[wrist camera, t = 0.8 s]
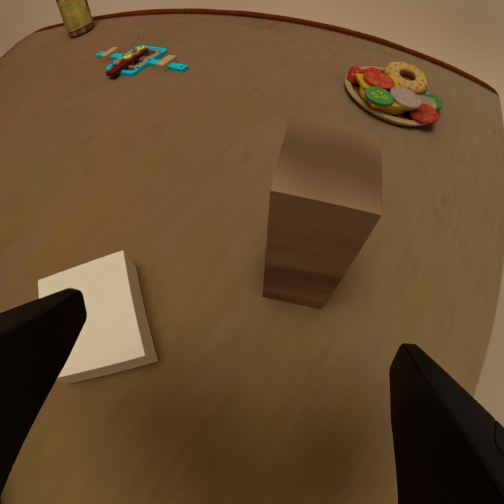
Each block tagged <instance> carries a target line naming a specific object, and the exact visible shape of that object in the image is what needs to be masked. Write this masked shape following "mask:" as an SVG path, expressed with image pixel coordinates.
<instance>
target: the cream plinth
mask: <svg viewBox="0 0 504 504" xmlns="http://www.w3.org/2000/svg"><path fill="white" fill-rule="evenodd" d="M67 288H73V289H77V290H80V291H81V292H82V294H83V297H84V302H85V307H86V311H87V319H86V322H85V324H84V326H83V328H82V330H81V332H80V334H79V336H78V339H77V341H76V343H75V345H74V347H73V349H72V352H71V354H70V356H69V358H68V360H67V362H66V364H65V365H64V367H63V369H62V371H61V372H60V374H59V376H58V378H57V380H56V381H59V382H64V383H69V384H70V383H74V382H79V381H83V380H88V379H92V378H96V377H100V376H104V375H109V374H113V373H117V372H121V371H124V370H128V369H132V368H136V367H140V366H143V365H147V364H151V363H154V362H158V359H157V355H156V352H155V348H154V344H153V340H152V336H151V332H150V328H149V324H148V320H147V316H146V312H145V307H144V303H143V298H142V294H141V289H140V285H139V280H138V275H137V270H136V266H135V265H134V264H133V262H132V261H131V260H130V258H129V257H128V256H127V255H126V253H125V252H124V251H120V252H117V253H114V254H111V255H108V256H105V257H102V258H99V259H96V260H93V261H91V262H88V263H85V264H82V265H79V266H76V267H74V268H71V269H68V270H65V271H63V272H60V273H57V274H54V275H52V276H49V277H46V278H43V279H41V280H38V289H39V299H40V298H42V297H45V296H48V295H50V294H53V293H56V292H59V291H61V290H64V289H67Z"/></svg>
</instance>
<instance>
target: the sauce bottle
mask: <svg viewBox="0 0 504 504" xmlns="http://www.w3.org/2000/svg"><path fill="white" fill-rule="evenodd" d="M56 3H57V5H58V8H59V11H60V14H61V17H62V19H63V22H64V25H65V27H66V30H67V32H68V33H69V36H70V37H77V36H80V35H82V34H84V33H86V32H87V31H89V30H91V29H92V28H93V26H94V24H93V19H92V16H91V12H90V9H89V6H88V3H87V0H56Z"/></svg>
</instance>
